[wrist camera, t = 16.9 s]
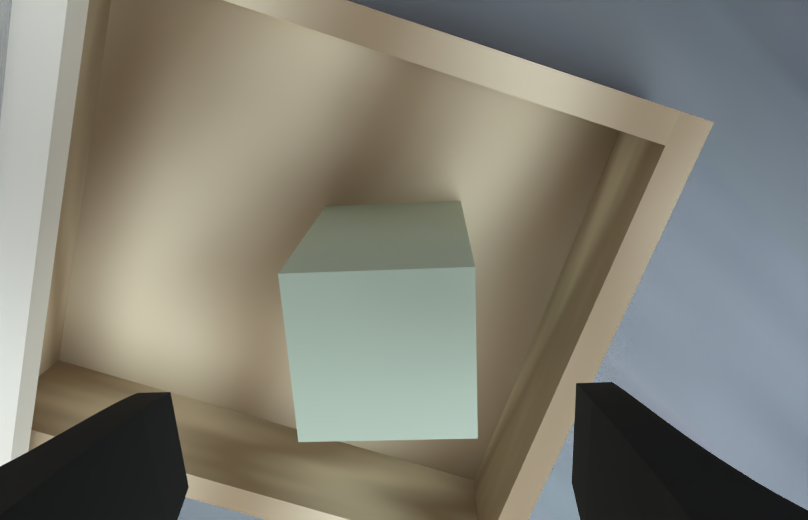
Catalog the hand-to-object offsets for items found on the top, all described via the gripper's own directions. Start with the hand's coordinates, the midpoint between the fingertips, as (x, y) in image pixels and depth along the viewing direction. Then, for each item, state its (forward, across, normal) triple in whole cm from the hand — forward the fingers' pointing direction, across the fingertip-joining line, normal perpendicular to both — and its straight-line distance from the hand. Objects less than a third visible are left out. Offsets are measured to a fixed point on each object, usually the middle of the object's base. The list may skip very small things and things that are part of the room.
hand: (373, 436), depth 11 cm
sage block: (+8, 0, 0) cm, 8 cm away
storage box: (+9, +2, -1) cm, 9 cm away
